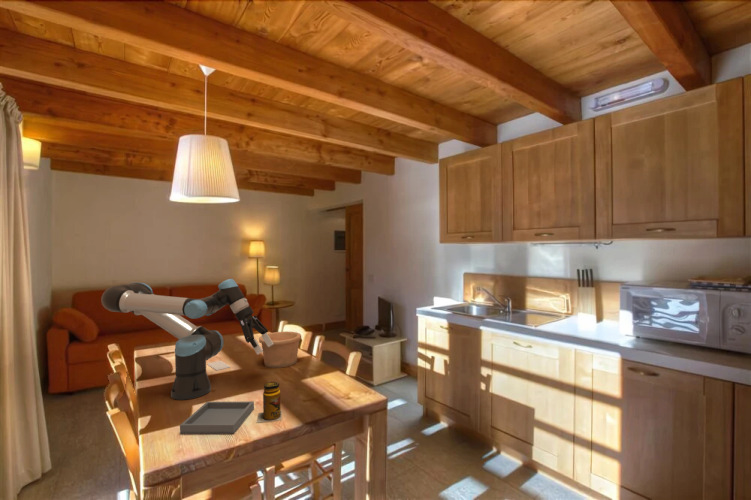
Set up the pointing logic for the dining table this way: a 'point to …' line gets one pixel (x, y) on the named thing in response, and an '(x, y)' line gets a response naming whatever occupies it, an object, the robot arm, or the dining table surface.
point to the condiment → (271, 403)
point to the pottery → (281, 349)
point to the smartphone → (218, 365)
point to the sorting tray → (217, 418)
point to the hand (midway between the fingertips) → (265, 349)
